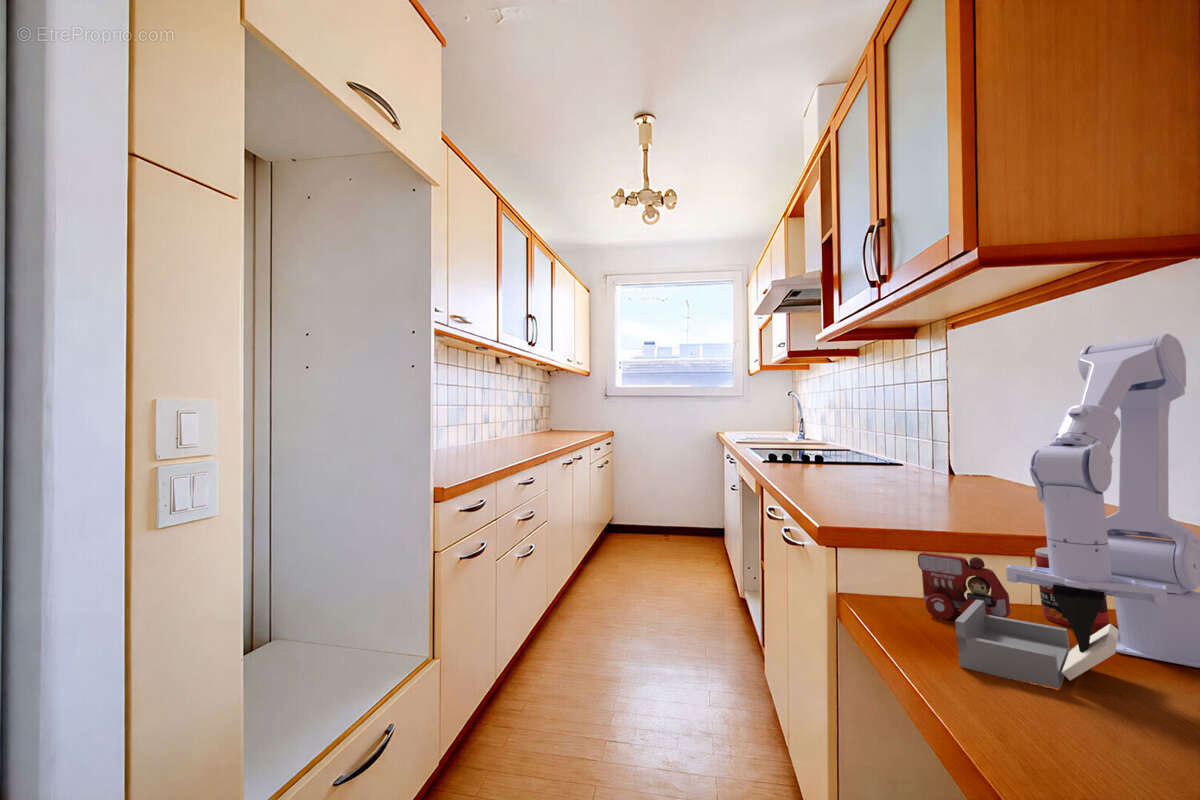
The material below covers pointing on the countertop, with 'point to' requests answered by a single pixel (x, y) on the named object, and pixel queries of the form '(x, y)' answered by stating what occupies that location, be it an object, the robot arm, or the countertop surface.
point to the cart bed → (1011, 647)
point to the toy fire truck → (960, 585)
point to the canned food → (1049, 603)
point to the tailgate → (1091, 652)
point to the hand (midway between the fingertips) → (1087, 650)
